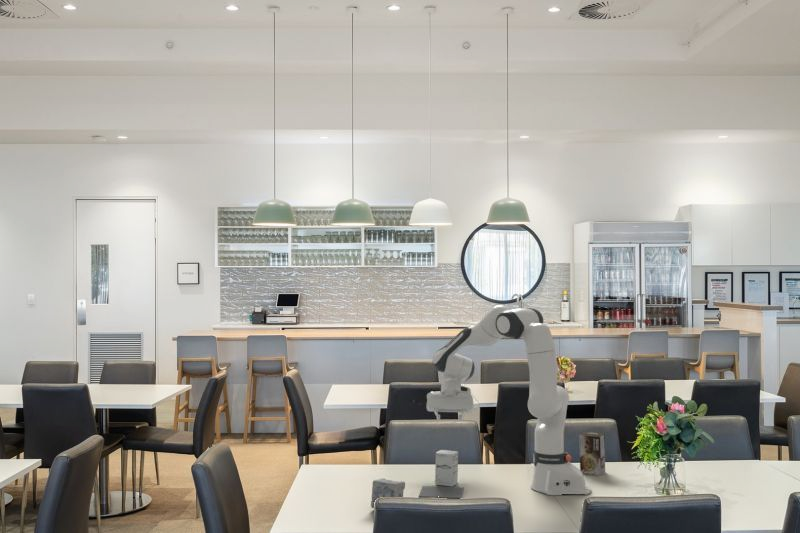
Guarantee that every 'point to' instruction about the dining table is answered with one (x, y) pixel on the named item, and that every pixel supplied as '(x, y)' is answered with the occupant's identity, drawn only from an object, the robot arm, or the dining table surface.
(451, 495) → the mat
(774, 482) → the dining table surface
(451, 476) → the supplement box
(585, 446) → the coffee box
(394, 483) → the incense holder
